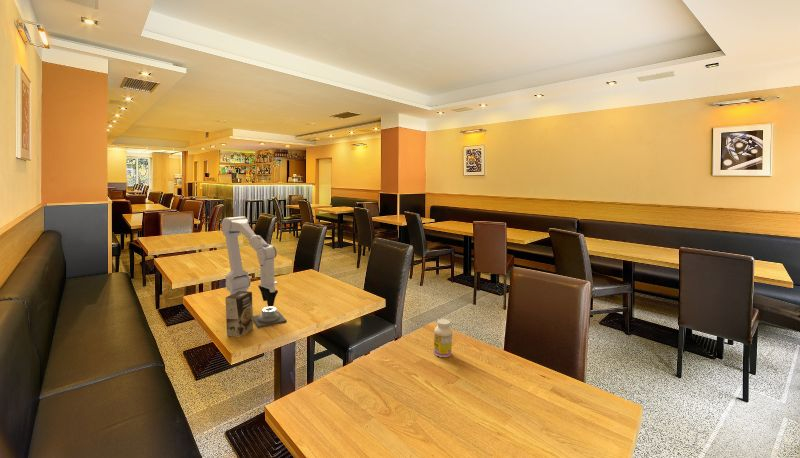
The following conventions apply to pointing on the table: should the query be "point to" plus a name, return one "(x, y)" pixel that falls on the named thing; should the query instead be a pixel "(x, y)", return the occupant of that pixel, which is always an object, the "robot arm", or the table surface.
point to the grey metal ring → (269, 312)
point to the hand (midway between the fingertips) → (268, 303)
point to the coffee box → (239, 313)
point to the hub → (268, 320)
